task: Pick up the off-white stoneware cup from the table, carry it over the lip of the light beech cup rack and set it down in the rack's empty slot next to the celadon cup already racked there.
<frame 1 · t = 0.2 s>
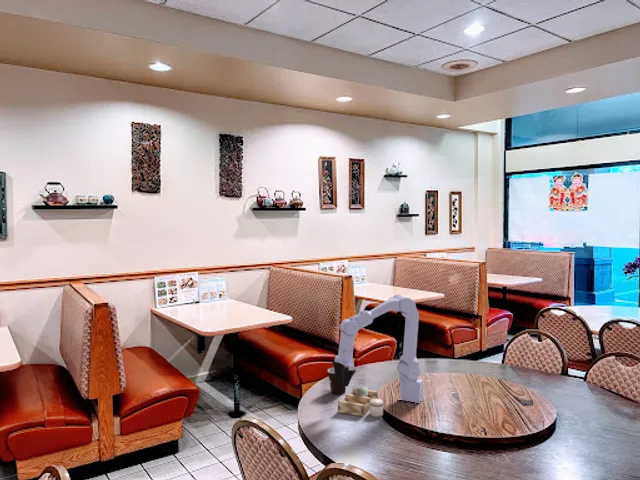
hand: (341, 382, 199), 12 cm above the table, tool pointing down, fingers open, 7 cm apart
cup: (376, 414, 196), on the table
rack: (358, 406, 204), on the table
coffee mug: (338, 391, 222), on the table
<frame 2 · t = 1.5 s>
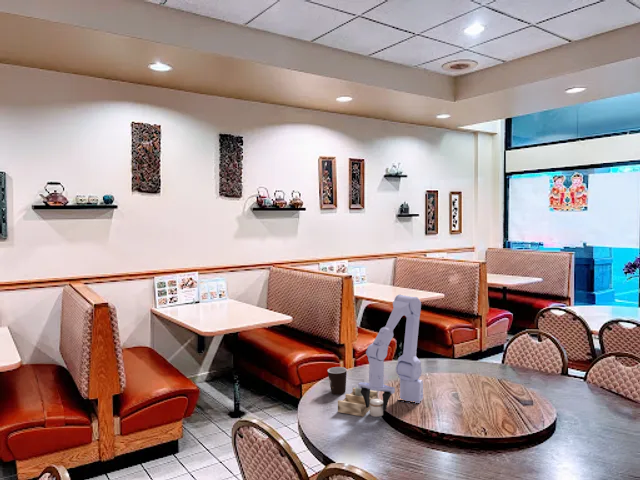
hand: (376, 408, 195), 3 cm above the table, tool pointing down, fingers open, 6 cm apart
nothing on the table moved.
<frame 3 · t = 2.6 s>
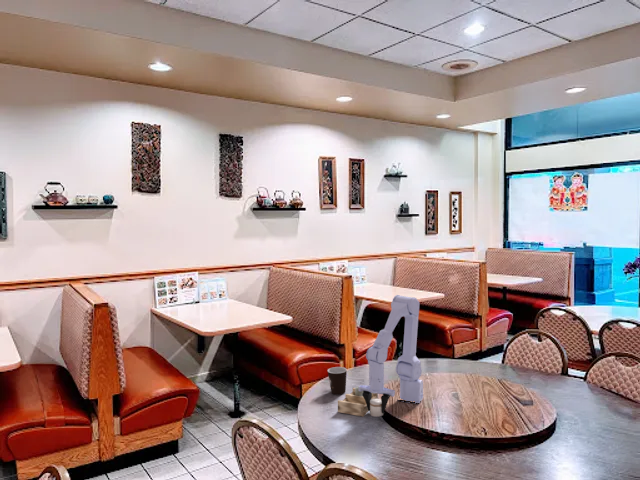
hand: (376, 411, 195), 1 cm above the table, tool pointing down, fingers closed on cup, 5 cm apart
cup: (376, 414, 196), on the table, touching gripper
everything else where it was.
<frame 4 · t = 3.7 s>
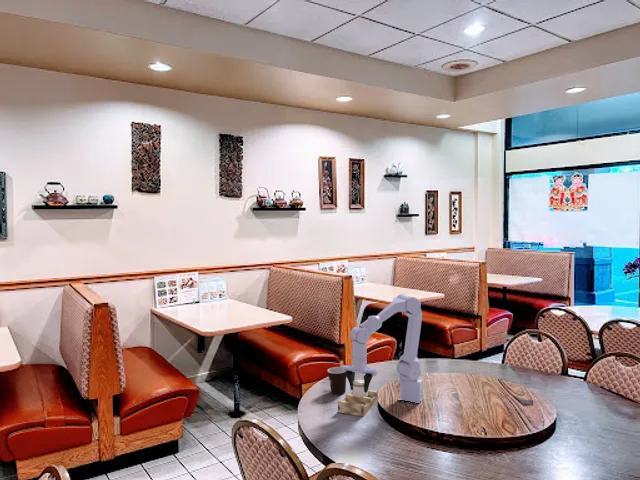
hand: (359, 390, 199), 8 cm above the table, tool pointing down, fingers closed on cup, 5 cm apart
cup: (359, 395, 199), point 7 cm above the table, touching gripper
everything else where it was.
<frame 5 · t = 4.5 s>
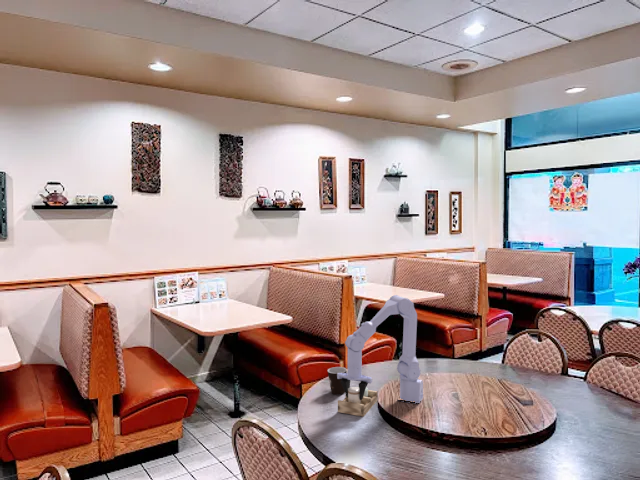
hand: (354, 398, 200), 5 cm above the table, tool pointing down, fingers closed on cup, 5 cm apart
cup: (354, 402, 200), point 3 cm above the table, touching gripper
everything else where it was.
when the fingers open (4 cm above the table, at t = 5.2 s): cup drops 1 cm, resting on rack.
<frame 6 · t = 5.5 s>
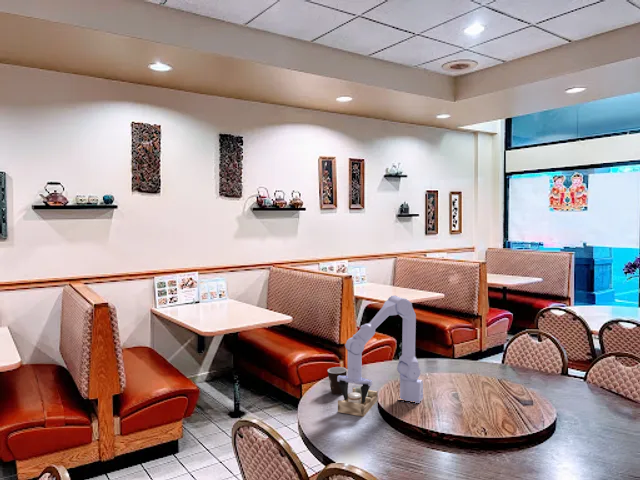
hand: (354, 400, 200), 4 cm above the table, tool pointing down, fingers open, 7 cm apart
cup: (354, 407, 200), point 1 cm above the table, touching rack
everything else where it was.
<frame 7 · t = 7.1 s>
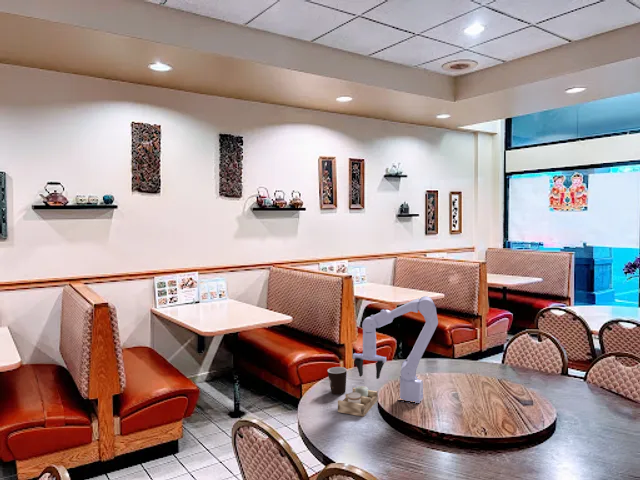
hand: (369, 376, 211), 10 cm above the table, tool pointing down, fingers open, 7 cm apart
nothing on the table moved.
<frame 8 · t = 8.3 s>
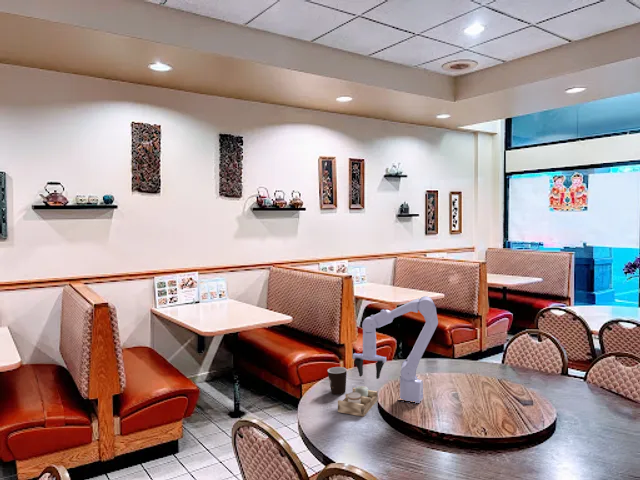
hand: (369, 376, 211), 10 cm above the table, tool pointing down, fingers open, 7 cm apart
nothing on the table moved.
at the end: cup inside the target area on the rack (0.2 cm from its centre), point 1.0 cm above the rack's base; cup tilted 1°; the gripper is holding nothing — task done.
